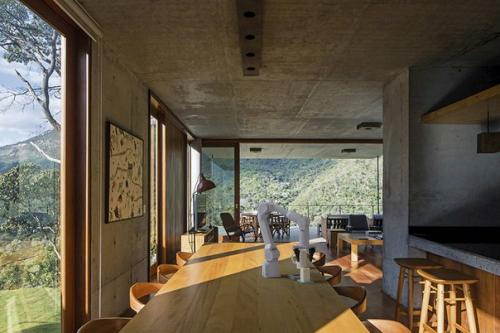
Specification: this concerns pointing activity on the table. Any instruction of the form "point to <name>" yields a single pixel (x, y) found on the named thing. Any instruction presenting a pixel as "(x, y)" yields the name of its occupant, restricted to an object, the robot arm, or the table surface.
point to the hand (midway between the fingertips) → (304, 261)
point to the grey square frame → (294, 276)
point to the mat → (306, 281)
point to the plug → (304, 274)
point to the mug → (302, 258)
